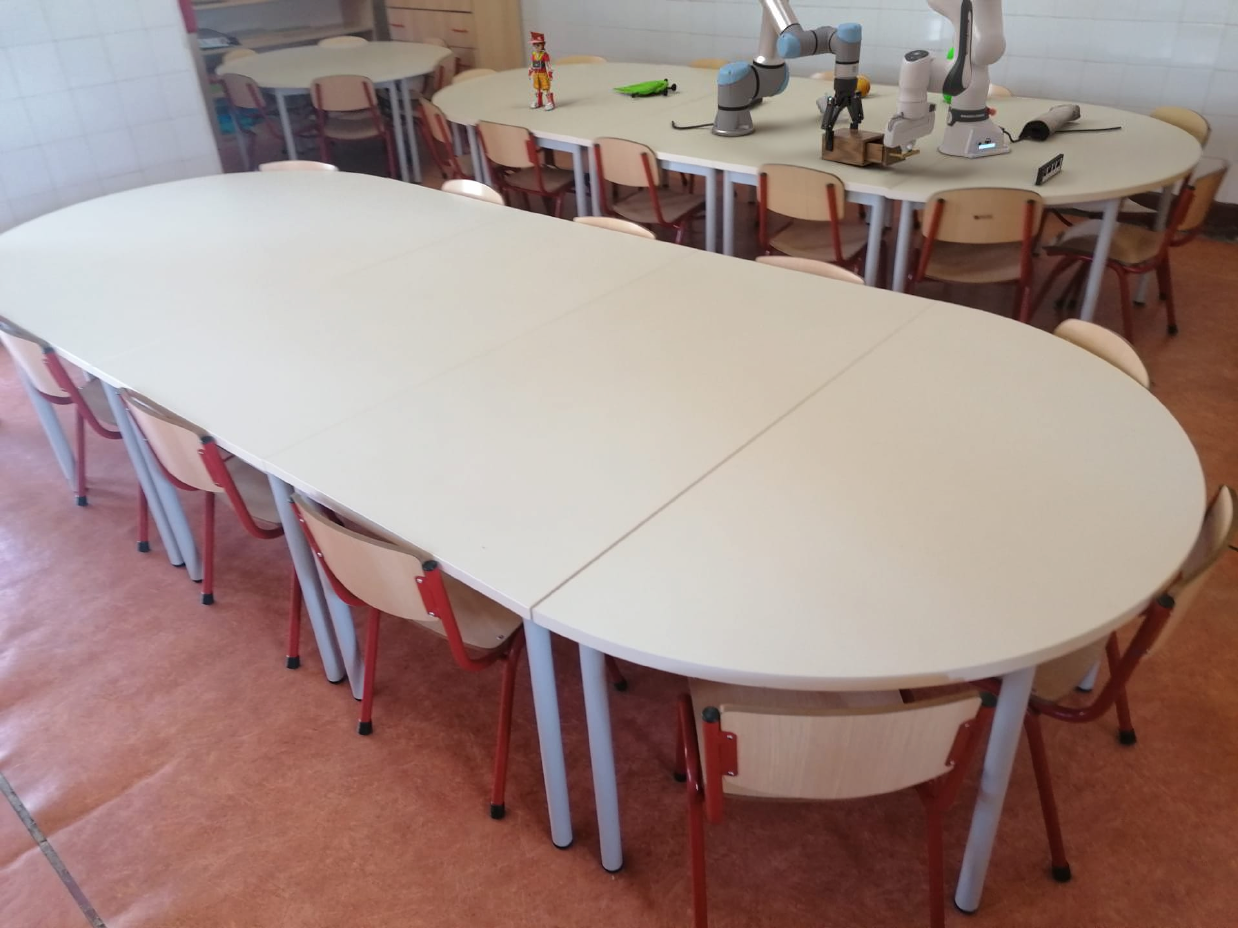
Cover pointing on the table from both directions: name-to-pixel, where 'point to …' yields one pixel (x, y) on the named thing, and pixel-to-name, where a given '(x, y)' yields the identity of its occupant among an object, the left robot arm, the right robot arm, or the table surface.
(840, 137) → the wooden box
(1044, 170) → the midi keyboard
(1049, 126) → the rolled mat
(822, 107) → the anatomical model
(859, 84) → the fruit
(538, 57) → the toy
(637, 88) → the toy
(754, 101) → the disk drive
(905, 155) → the drawer
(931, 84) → the right robot arm
